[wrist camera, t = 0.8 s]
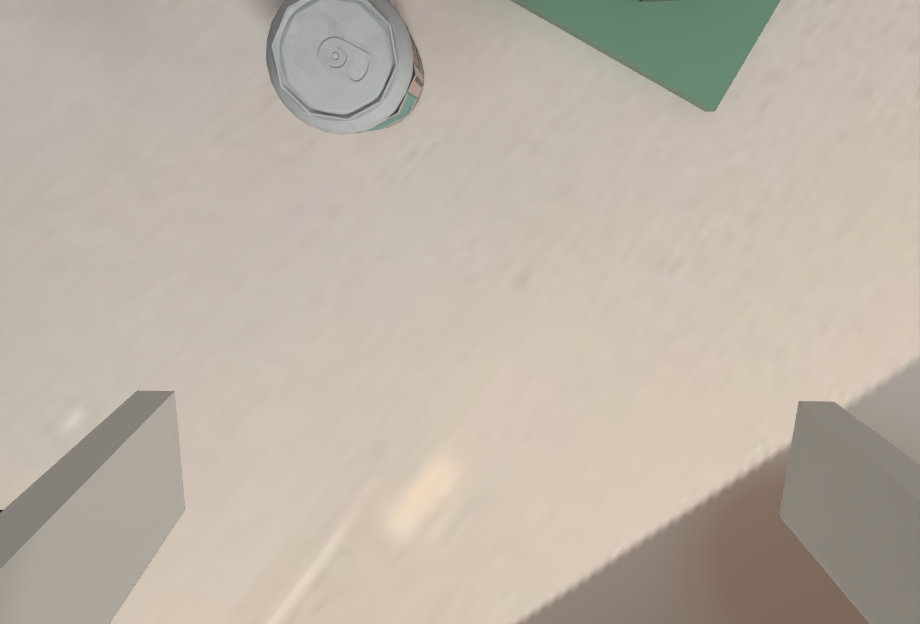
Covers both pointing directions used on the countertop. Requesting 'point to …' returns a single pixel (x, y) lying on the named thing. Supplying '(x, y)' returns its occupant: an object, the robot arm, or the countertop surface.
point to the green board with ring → (667, 38)
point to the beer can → (344, 64)
